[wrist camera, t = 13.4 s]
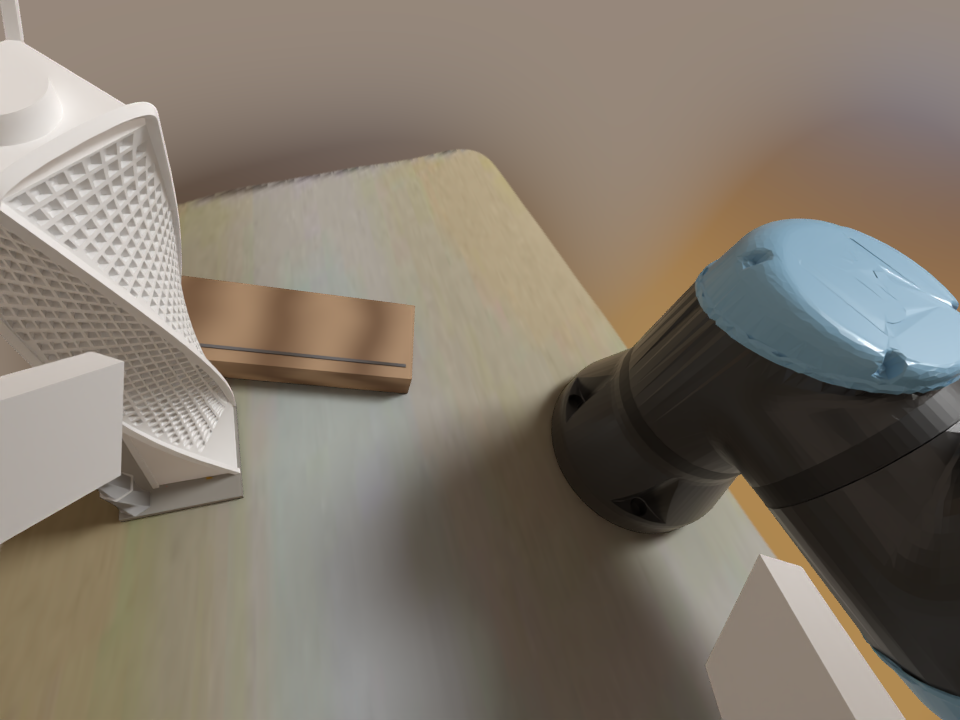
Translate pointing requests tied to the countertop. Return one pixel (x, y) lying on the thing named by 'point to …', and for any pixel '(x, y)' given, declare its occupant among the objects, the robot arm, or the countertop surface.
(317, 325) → the board
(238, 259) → the countertop surface
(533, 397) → the countertop surface
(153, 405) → the skyscraper
